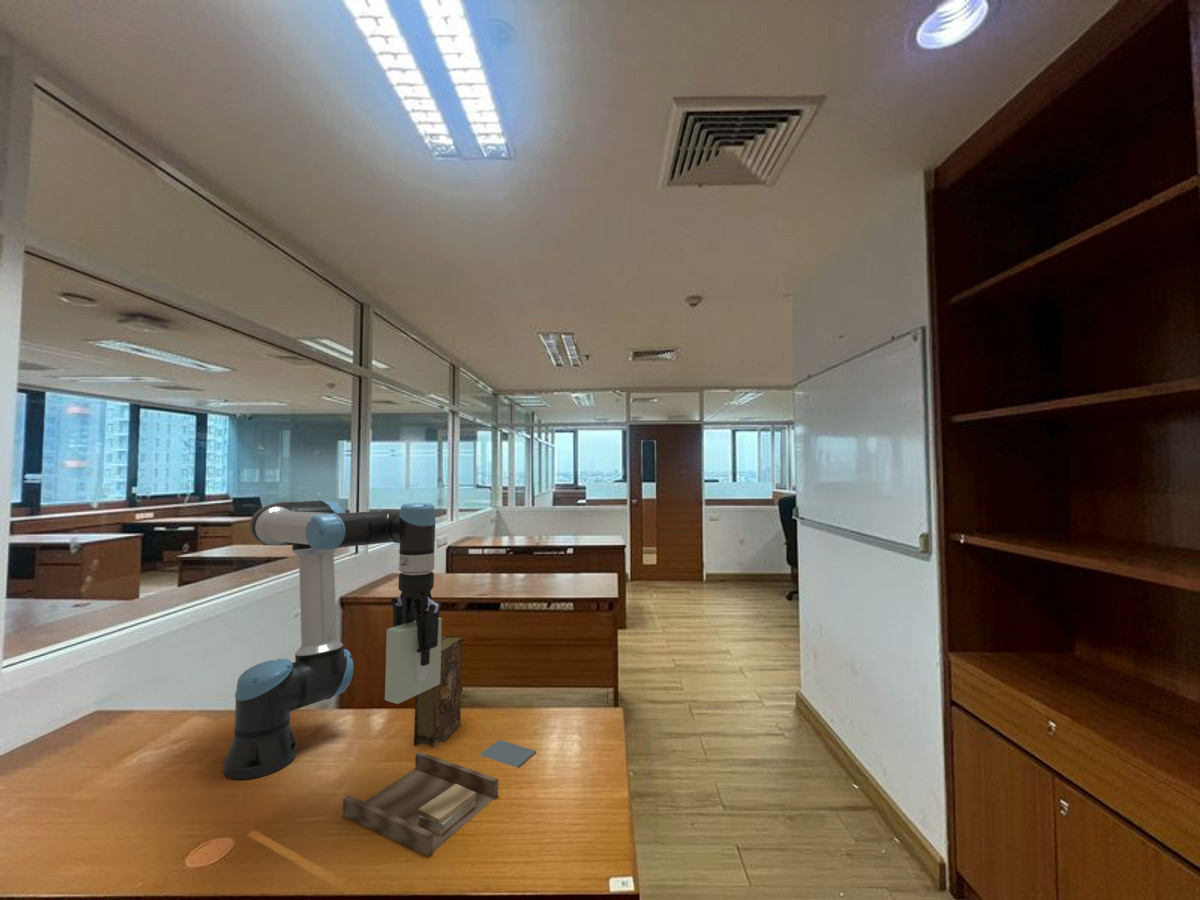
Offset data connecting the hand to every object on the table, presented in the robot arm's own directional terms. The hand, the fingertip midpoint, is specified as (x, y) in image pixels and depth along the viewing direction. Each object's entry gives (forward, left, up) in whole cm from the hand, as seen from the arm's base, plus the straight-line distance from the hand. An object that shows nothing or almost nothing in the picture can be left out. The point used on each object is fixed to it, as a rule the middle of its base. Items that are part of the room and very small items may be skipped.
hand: (414, 677), depth 114 cm
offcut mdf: (+12, -2, -24) cm, 27 cm away
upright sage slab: (0, 0, -3) cm, 3 cm away
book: (-15, +23, -27) cm, 39 cm away
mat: (+7, +20, -27) cm, 35 cm away
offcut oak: (+12, -2, -23) cm, 26 cm away
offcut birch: (+12, -2, -25) cm, 28 cm away
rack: (+5, -2, -27) cm, 27 cm away
